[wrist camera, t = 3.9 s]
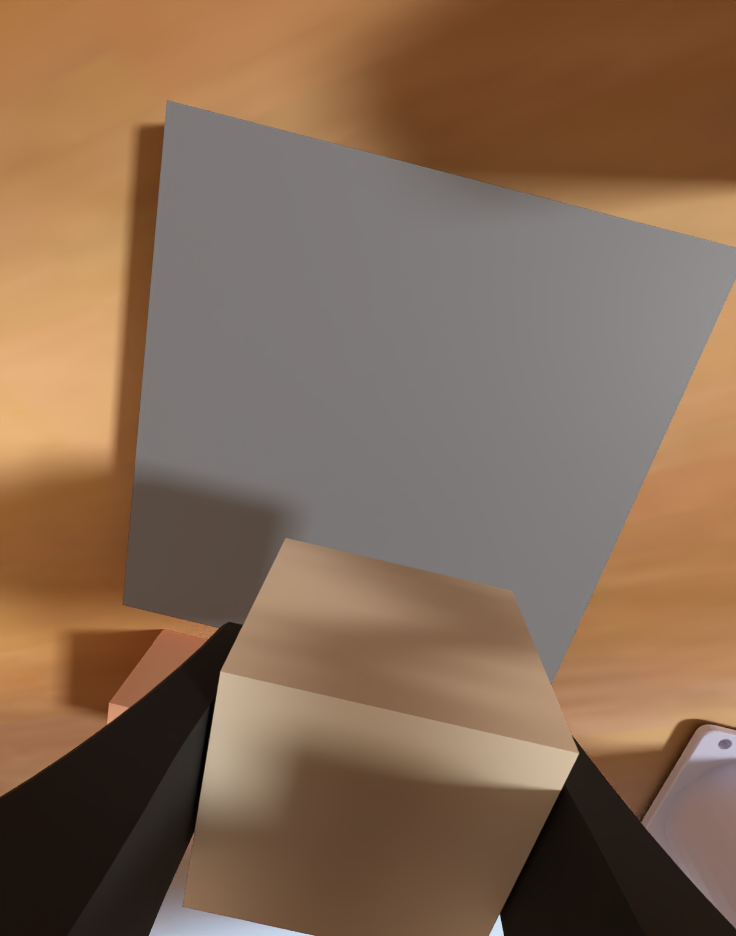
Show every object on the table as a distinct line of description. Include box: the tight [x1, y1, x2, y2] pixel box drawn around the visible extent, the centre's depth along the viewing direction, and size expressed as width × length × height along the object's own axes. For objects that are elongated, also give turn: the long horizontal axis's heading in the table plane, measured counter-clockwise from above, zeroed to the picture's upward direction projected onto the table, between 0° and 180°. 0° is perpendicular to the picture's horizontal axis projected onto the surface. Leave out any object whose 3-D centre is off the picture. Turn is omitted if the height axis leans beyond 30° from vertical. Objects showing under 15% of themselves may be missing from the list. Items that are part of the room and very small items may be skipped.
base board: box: [123, 100, 736, 684], centre depth 16 cm, size 16×16×2 cm
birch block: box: [182, 538, 579, 936], centre depth 9 cm, size 5×5×4 cm
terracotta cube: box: [107, 629, 207, 724], centre depth 19 cm, size 4×4×4 cm
